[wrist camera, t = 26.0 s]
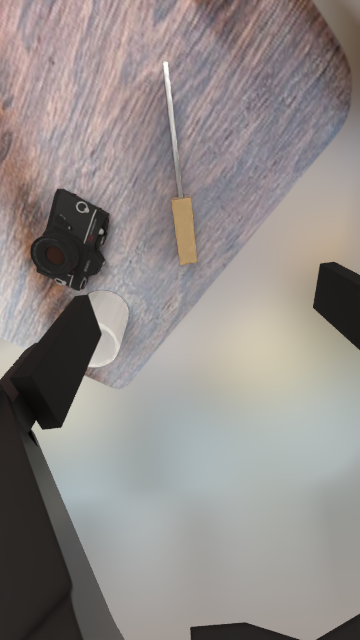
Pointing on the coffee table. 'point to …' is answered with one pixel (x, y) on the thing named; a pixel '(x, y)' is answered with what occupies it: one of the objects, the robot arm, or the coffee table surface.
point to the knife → (180, 191)
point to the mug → (108, 325)
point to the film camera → (71, 241)
